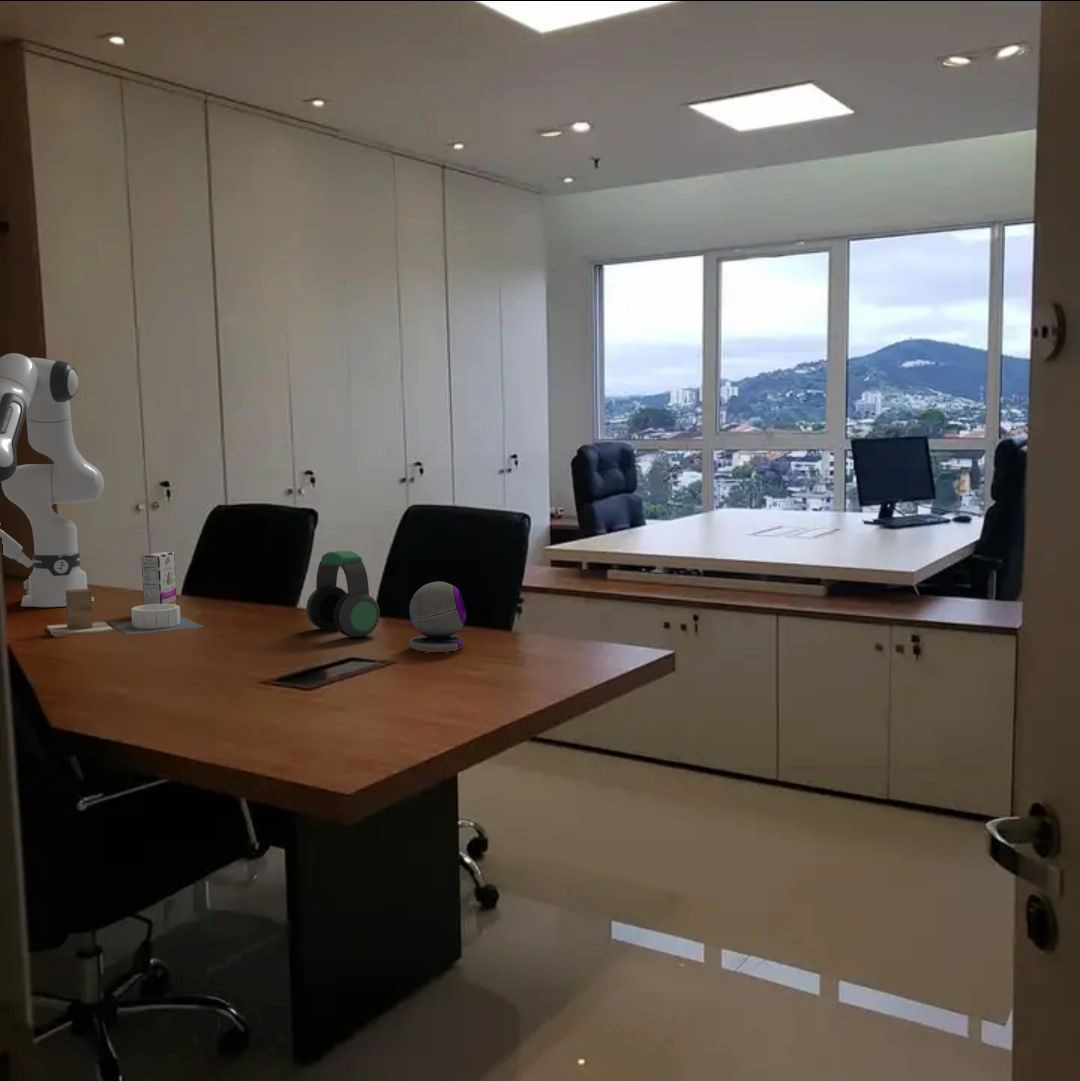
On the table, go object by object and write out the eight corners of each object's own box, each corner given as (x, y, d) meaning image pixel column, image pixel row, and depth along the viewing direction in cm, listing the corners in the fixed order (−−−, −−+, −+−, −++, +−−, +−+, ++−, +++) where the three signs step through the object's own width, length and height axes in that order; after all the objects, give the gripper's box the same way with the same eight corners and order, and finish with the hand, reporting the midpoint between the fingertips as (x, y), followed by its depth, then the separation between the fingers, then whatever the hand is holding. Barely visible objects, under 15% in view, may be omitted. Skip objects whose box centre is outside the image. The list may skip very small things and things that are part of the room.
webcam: (464, 653, 237) (464, 586, 235) (406, 652, 236) (406, 585, 235) (467, 641, 249) (467, 578, 248) (412, 641, 249) (412, 577, 248)
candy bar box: (159, 613, 285) (156, 551, 284) (177, 612, 285) (175, 551, 284) (142, 618, 274) (140, 555, 273) (162, 618, 274) (159, 555, 273)
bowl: (127, 623, 267) (127, 606, 266) (172, 619, 273) (171, 602, 273) (139, 630, 258) (138, 612, 257) (185, 626, 264) (184, 608, 264)
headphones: (303, 630, 262) (301, 549, 260) (341, 625, 269) (341, 546, 267) (343, 642, 248) (342, 556, 246) (383, 636, 255) (383, 553, 253)
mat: (109, 624, 268) (109, 623, 268) (181, 617, 278) (181, 616, 278) (128, 636, 253) (128, 634, 253) (204, 628, 263) (204, 626, 263)
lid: (47, 630, 261) (45, 588, 260) (103, 625, 268) (102, 585, 267) (54, 639, 250) (53, 596, 249) (113, 634, 257) (112, 592, 256)
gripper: (-4, 516, 237) (45, 557, 243) (-18, 510, 254) (29, 549, 260) (-26, 537, 235) (24, 578, 241) (-38, 530, 251) (9, 568, 258)
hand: (27, 563), depth 251 cm, fingers open, 8 cm apart
